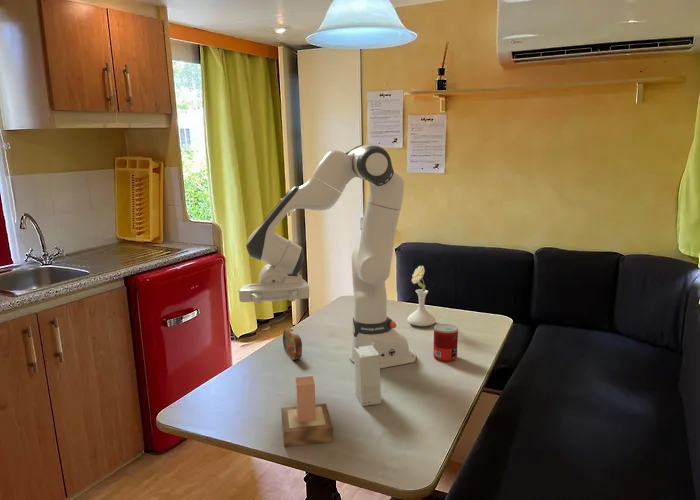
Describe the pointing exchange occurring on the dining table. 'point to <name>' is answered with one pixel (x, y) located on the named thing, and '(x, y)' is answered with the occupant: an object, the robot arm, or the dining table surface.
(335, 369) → the dining table surface
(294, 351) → the tin
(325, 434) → the plinth
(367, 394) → the skincare box
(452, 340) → the canned food
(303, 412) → the terracotta block
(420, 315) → the flower in vase
